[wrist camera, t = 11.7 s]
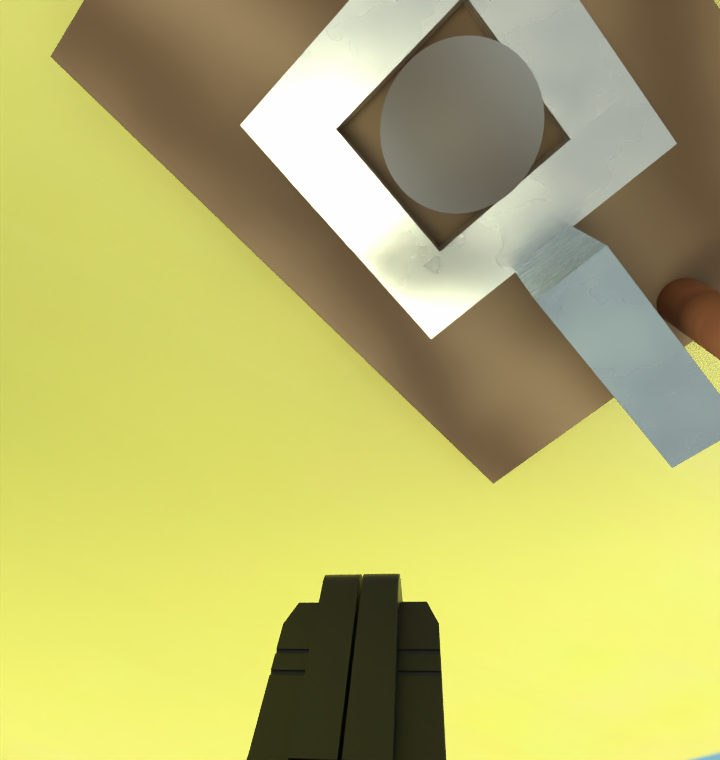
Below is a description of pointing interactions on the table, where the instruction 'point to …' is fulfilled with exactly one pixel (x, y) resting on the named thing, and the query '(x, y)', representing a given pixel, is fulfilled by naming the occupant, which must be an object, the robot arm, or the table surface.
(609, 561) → the table surface
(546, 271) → the flange plate
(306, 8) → the flange base
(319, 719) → the robot arm
